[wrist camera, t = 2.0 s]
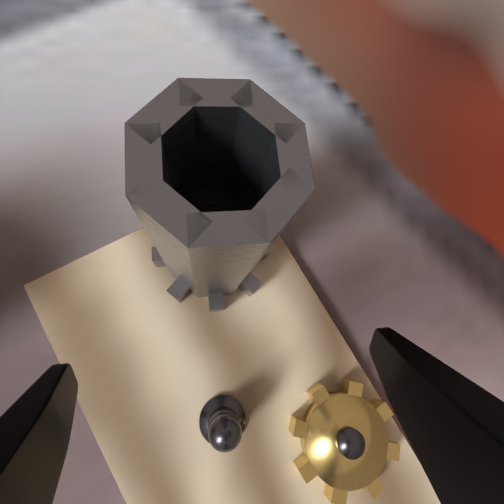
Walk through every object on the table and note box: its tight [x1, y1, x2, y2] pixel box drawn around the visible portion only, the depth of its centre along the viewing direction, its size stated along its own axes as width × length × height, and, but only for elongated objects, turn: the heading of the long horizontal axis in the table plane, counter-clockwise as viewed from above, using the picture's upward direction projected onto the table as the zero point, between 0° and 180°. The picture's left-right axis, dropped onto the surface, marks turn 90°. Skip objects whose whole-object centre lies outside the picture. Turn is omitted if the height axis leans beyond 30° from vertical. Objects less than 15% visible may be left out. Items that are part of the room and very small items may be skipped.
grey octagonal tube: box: [125, 78, 315, 312], centre depth 16 cm, size 7×7×13 cm
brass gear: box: [288, 378, 401, 504], centre depth 19 cm, size 7×7×2 cm
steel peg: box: [199, 395, 246, 453], centre depth 18 cm, size 3×3×4 cm
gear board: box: [23, 227, 441, 504], centre depth 20 cm, size 16×25×1 cm, turn 31°
